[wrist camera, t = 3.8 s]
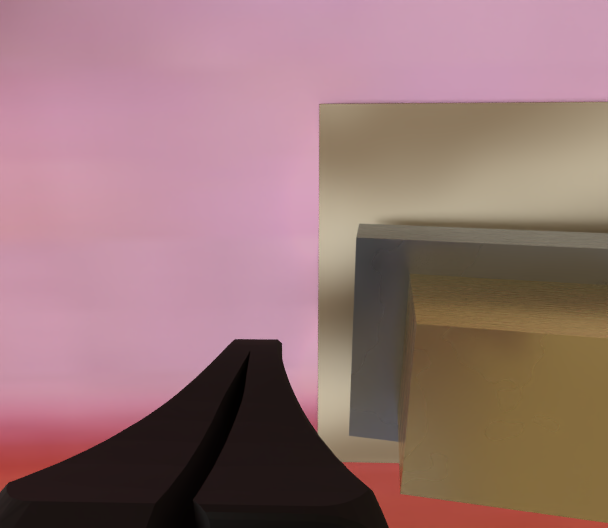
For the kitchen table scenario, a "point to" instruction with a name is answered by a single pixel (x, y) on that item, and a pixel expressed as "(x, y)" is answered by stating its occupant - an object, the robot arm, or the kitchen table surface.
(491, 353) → the tan block
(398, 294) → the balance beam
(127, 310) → the kitchen table surface
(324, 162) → the beam stand
